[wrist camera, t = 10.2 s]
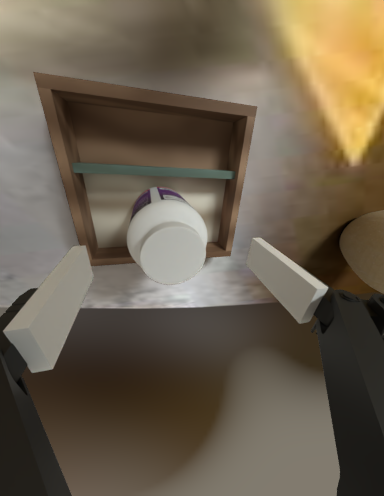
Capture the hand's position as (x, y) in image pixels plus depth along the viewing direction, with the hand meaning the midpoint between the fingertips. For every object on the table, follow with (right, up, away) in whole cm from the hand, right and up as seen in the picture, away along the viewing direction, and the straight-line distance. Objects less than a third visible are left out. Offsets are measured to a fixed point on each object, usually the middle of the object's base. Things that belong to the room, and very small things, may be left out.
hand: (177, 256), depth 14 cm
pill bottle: (-4, +6, +13) cm, 15 cm away
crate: (-4, +10, +12) cm, 16 cm away
